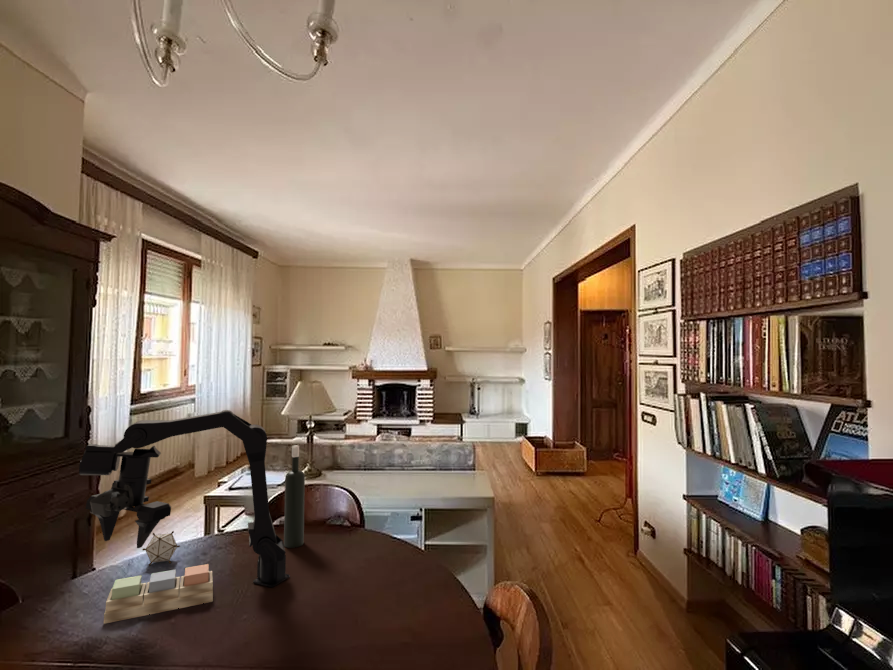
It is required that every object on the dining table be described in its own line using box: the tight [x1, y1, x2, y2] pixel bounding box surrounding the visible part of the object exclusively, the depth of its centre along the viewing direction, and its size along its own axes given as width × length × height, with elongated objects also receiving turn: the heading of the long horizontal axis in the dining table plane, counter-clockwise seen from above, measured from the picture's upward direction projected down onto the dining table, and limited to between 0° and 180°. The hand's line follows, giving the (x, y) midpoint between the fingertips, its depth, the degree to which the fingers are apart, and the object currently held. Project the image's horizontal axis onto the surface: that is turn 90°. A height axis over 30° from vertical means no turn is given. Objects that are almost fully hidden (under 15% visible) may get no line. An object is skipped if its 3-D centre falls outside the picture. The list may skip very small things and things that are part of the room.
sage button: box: [111, 575, 142, 600], centre depth 108 cm, size 5×5×3 cm
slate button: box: [148, 569, 177, 593], centre depth 111 cm, size 5×5×3 cm
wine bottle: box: [283, 444, 306, 549], centre depth 147 cm, size 6×6×30 cm
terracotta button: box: [184, 563, 210, 586], centre depth 114 cm, size 5×5×3 cm
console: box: [103, 570, 214, 625], centre depth 111 cm, size 21×9×4 cm, turn 117°
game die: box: [141, 530, 181, 566], centre depth 133 cm, size 9×8×10 cm
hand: (122, 544), depth 110 cm, fingers open, 9 cm apart
